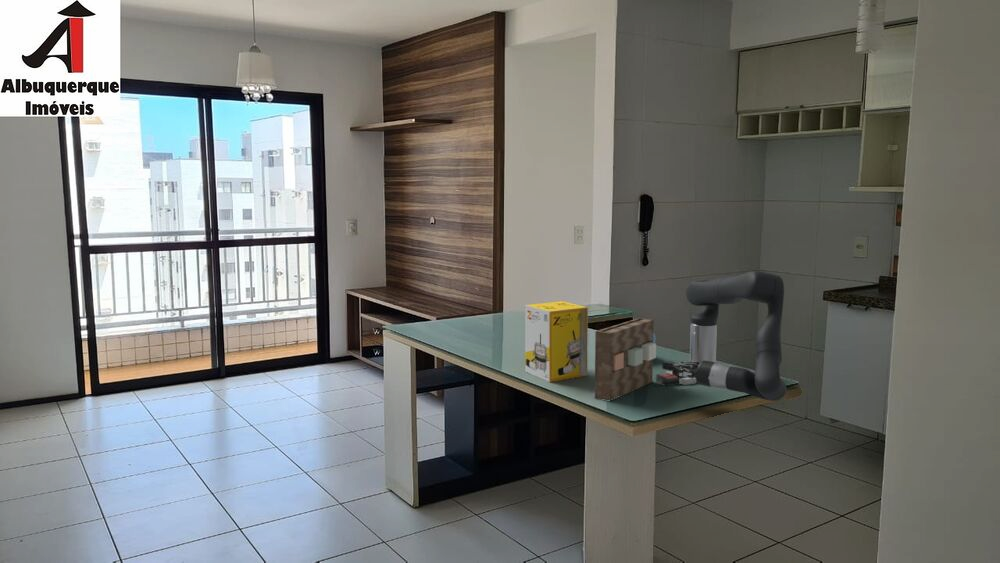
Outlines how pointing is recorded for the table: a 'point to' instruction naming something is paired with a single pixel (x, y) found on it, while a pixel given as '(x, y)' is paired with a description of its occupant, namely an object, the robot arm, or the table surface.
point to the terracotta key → (618, 361)
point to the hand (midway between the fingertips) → (663, 365)
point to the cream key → (649, 351)
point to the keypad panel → (620, 341)
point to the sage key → (635, 356)
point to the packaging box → (556, 340)
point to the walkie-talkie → (673, 379)
